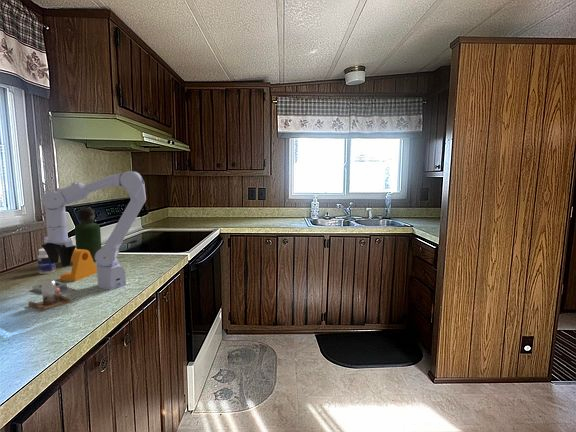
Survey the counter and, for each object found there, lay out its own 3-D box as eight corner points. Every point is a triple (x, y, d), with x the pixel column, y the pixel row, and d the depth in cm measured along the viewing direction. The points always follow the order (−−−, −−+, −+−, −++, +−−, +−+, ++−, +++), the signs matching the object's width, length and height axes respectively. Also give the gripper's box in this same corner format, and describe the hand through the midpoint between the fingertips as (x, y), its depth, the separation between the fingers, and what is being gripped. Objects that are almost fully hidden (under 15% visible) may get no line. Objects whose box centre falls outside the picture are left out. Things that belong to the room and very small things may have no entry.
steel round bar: (60, 301, 103) (58, 280, 102) (48, 305, 100) (46, 283, 99) (52, 300, 104) (50, 279, 103) (40, 304, 101) (38, 282, 100)
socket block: (77, 292, 114) (76, 286, 114) (51, 300, 107) (51, 293, 107) (56, 286, 121) (56, 280, 120) (31, 292, 114) (30, 286, 113)
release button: (61, 295, 111) (61, 288, 111) (53, 297, 109) (53, 290, 109) (57, 293, 112) (57, 287, 112) (50, 296, 110) (49, 289, 110)
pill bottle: (35, 274, 134) (33, 250, 133) (43, 270, 140) (41, 247, 138) (51, 273, 135) (49, 250, 134) (58, 269, 140) (56, 247, 139)
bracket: (82, 274, 135) (80, 245, 134) (97, 275, 134) (95, 246, 132) (59, 282, 125) (56, 252, 123) (75, 283, 123) (73, 253, 122)
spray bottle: (74, 263, 150) (70, 210, 147) (80, 258, 160) (76, 207, 156) (99, 262, 153) (96, 209, 150) (104, 256, 163) (101, 207, 160)
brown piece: (70, 305, 103) (70, 298, 103) (42, 314, 96) (41, 307, 96) (57, 300, 107) (56, 293, 107) (28, 308, 100) (28, 302, 100)
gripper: (33, 226, 112) (36, 264, 114) (55, 229, 105) (58, 270, 107) (55, 223, 118) (58, 259, 120) (78, 226, 111) (80, 265, 113)
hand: (60, 264), depth 114 cm, fingers open, 7 cm apart
